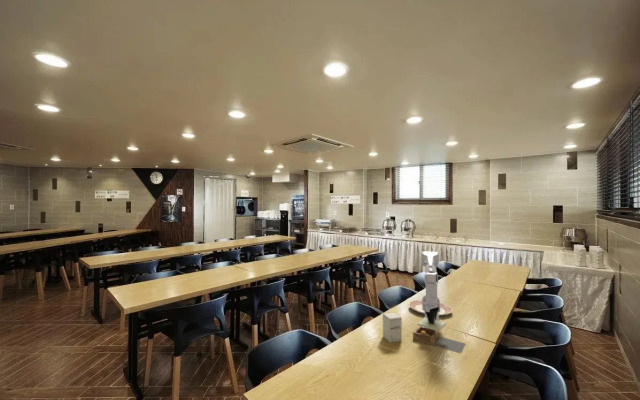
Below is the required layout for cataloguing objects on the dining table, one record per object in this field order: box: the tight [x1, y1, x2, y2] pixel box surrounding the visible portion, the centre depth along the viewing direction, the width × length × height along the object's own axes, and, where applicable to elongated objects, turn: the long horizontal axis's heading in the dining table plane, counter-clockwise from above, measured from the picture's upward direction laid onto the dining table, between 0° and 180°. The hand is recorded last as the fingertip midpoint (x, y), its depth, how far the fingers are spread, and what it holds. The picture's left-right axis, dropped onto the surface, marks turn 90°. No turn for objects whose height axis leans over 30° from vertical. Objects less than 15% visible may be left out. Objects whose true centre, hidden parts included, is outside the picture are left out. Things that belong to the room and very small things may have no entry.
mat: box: [434, 336, 466, 354], centre depth 139 cm, size 12×12×1 cm
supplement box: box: [382, 312, 403, 343], centre depth 146 cm, size 7×7×13 cm
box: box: [412, 325, 439, 346], centre depth 146 cm, size 10×10×4 cm
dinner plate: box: [408, 299, 453, 317], centre depth 187 cm, size 27×27×3 cm
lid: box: [417, 317, 447, 332], centre depth 144 cm, size 11×11×4 cm
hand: (432, 321), depth 144 cm, fingers closed on lid, 3 cm apart
